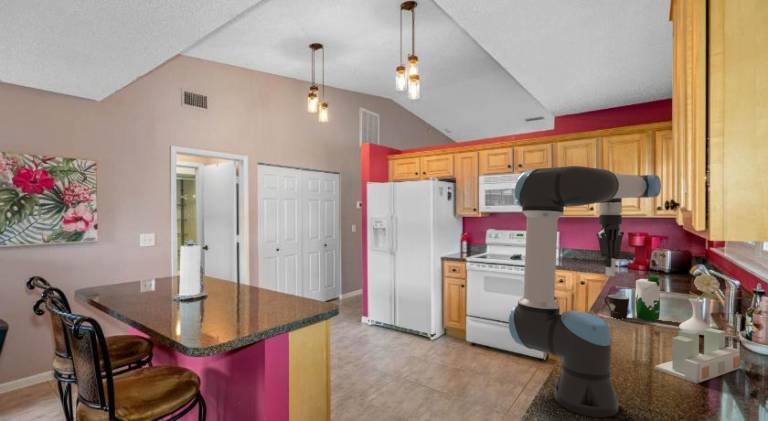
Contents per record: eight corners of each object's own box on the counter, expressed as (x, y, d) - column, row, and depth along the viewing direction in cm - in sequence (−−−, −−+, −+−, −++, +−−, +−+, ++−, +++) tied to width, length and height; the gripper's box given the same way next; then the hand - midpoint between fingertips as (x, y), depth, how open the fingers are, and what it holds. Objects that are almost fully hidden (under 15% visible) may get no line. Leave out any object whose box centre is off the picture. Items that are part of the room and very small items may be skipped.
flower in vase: (675, 332, 159) (675, 272, 158) (683, 327, 166) (683, 269, 166) (716, 341, 148) (716, 277, 148) (722, 334, 156) (722, 273, 156)
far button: (718, 363, 124) (718, 333, 124) (704, 359, 128) (704, 329, 128) (725, 361, 126) (725, 331, 126) (710, 357, 129) (710, 328, 129)
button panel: (696, 383, 113) (696, 363, 113) (655, 368, 123) (655, 350, 123) (739, 368, 123) (739, 350, 123) (698, 355, 134) (698, 338, 134)
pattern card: (702, 382, 113) (702, 365, 113) (699, 381, 114) (699, 364, 114) (740, 368, 122) (740, 353, 122) (737, 367, 123) (737, 352, 123)
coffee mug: (632, 320, 175) (632, 299, 175) (612, 319, 177) (612, 298, 177) (622, 313, 186) (622, 293, 186) (603, 313, 188) (603, 292, 188)
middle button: (691, 365, 123) (691, 334, 123) (678, 360, 127) (678, 330, 127) (698, 362, 125) (698, 332, 125) (684, 358, 128) (685, 329, 128)
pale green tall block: (686, 374, 117) (686, 341, 116) (672, 369, 120) (672, 337, 120) (694, 371, 118) (694, 339, 118) (679, 366, 122) (679, 335, 122)
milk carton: (656, 322, 172) (656, 278, 172) (633, 318, 179) (633, 276, 179) (662, 319, 178) (662, 276, 178) (639, 314, 185) (639, 273, 185)
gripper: (612, 213, 152) (612, 272, 152) (589, 214, 146) (589, 275, 147) (631, 214, 145) (631, 275, 145) (608, 214, 140) (608, 278, 140)
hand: (610, 275), depth 146 cm, fingers closed
